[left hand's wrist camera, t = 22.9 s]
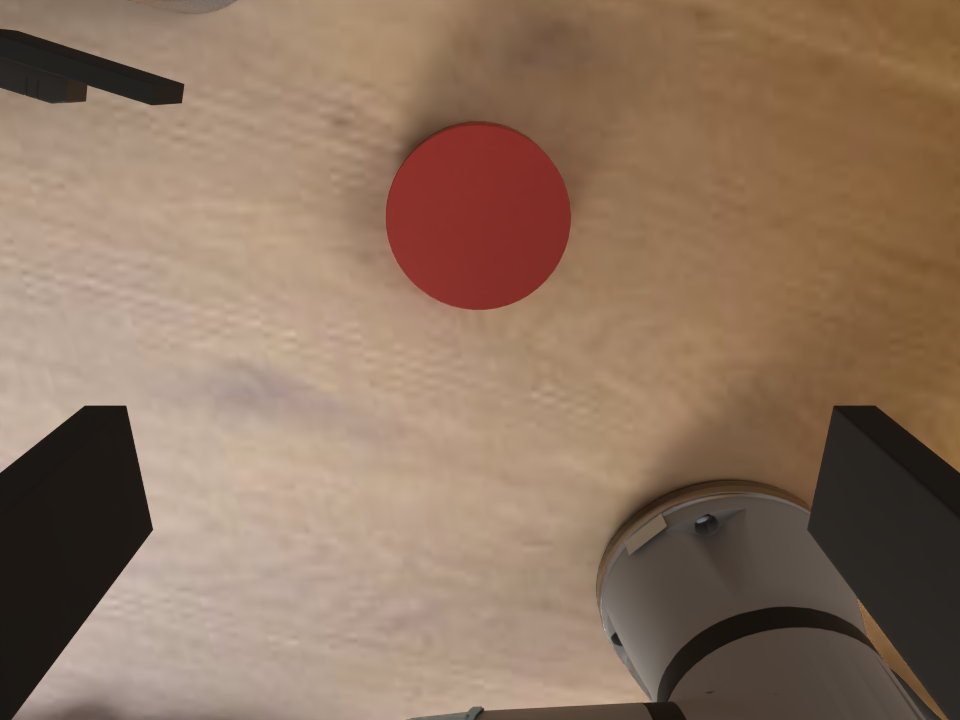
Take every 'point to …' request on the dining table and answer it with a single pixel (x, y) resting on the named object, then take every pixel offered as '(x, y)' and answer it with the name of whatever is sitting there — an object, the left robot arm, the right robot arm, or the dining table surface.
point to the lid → (478, 216)
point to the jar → (187, 5)
